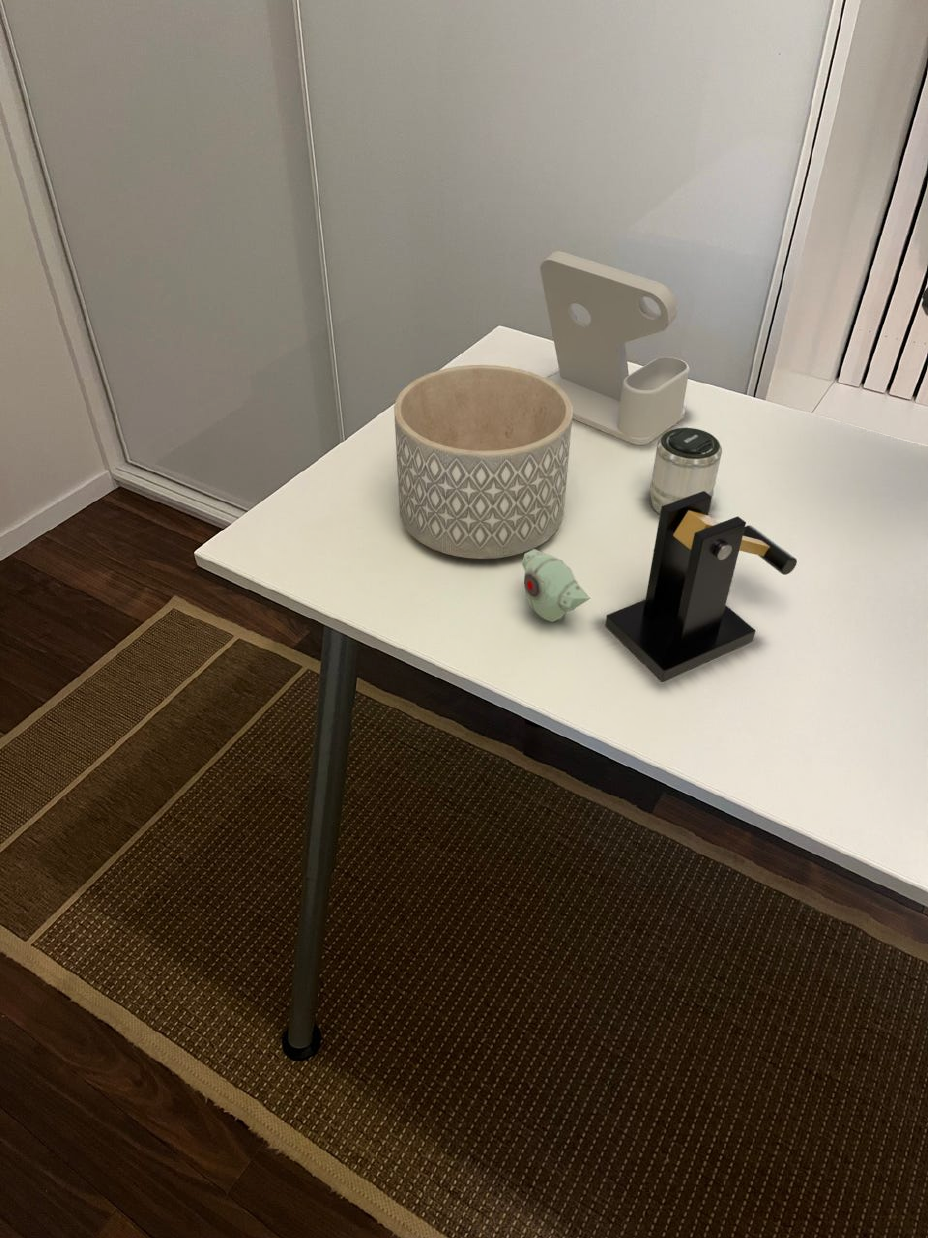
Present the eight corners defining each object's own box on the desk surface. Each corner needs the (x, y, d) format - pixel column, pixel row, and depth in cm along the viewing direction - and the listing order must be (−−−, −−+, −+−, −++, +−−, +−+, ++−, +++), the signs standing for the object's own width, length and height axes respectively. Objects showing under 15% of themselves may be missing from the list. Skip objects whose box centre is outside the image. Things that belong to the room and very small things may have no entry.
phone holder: (691, 414, 110) (720, 262, 98) (644, 449, 105) (667, 291, 92) (572, 368, 119) (584, 222, 107) (522, 398, 113) (529, 247, 101)
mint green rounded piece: (591, 636, 82) (599, 576, 77) (553, 654, 80) (559, 593, 76) (537, 586, 87) (542, 527, 82) (501, 602, 85) (503, 542, 81)
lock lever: (742, 545, 84) (757, 522, 83) (786, 579, 81) (803, 556, 80) (659, 524, 76) (674, 499, 75) (704, 561, 73) (721, 535, 72)
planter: (496, 457, 103) (500, 349, 95) (596, 529, 94) (610, 416, 85) (369, 507, 96) (360, 395, 88) (462, 592, 86) (463, 475, 78)
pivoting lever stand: (692, 589, 87) (718, 472, 78) (753, 641, 82) (787, 521, 73) (604, 625, 83) (621, 506, 74) (662, 682, 78) (686, 561, 69)
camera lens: (721, 505, 97) (736, 438, 91) (686, 530, 93) (699, 463, 88) (671, 480, 100) (683, 415, 95) (635, 504, 97) (645, 438, 91)
